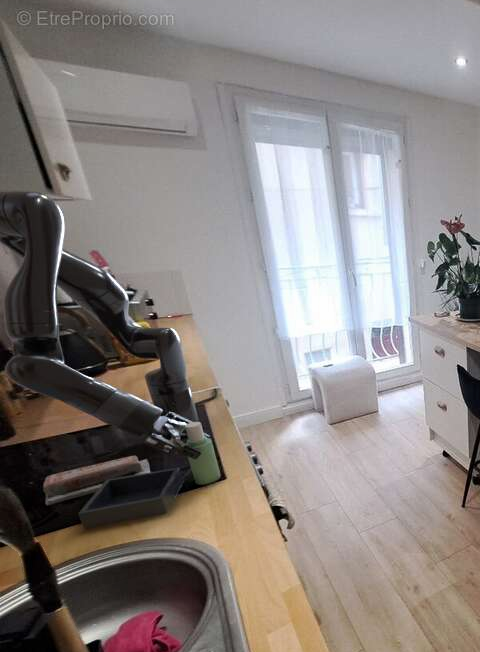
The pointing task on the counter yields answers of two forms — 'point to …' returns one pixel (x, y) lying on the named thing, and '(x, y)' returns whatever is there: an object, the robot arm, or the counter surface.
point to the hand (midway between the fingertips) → (203, 447)
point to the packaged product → (90, 478)
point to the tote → (132, 498)
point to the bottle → (202, 455)
